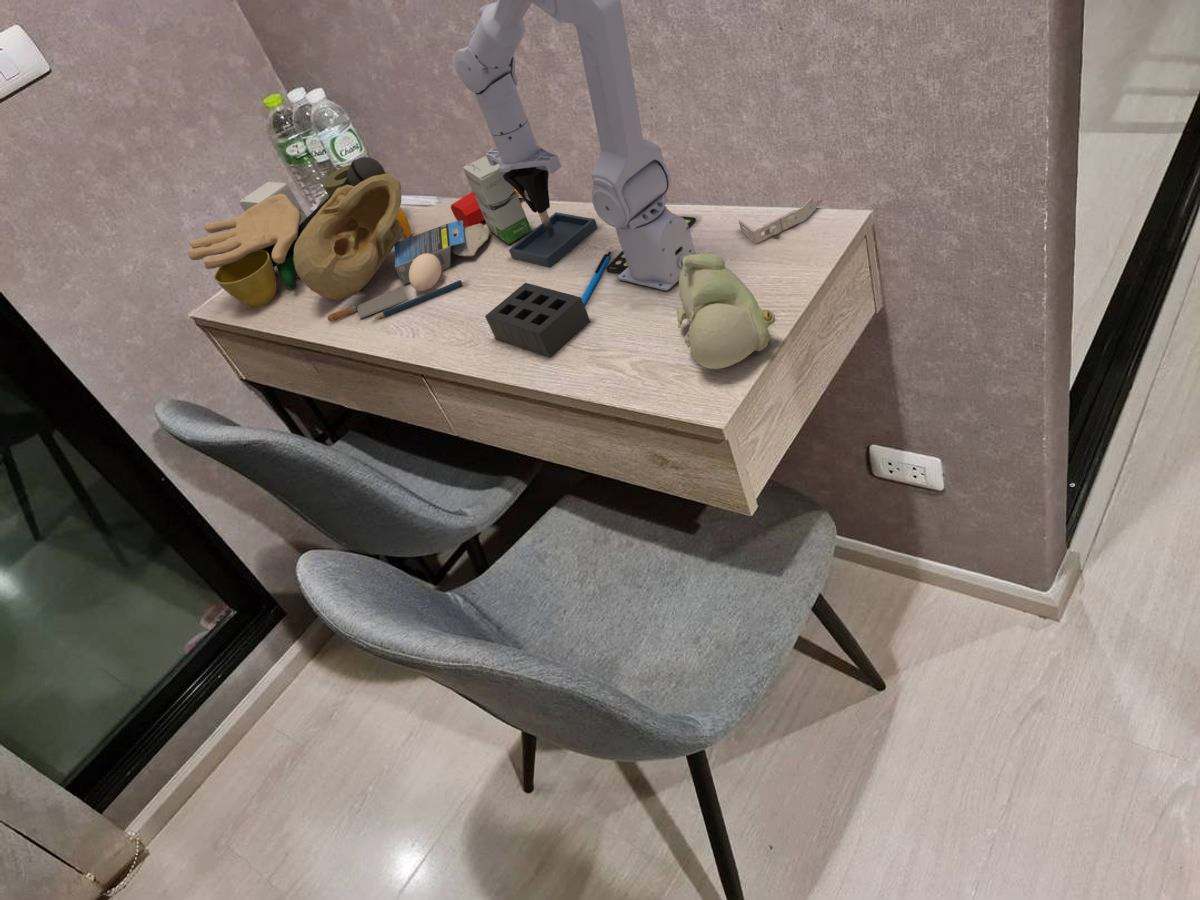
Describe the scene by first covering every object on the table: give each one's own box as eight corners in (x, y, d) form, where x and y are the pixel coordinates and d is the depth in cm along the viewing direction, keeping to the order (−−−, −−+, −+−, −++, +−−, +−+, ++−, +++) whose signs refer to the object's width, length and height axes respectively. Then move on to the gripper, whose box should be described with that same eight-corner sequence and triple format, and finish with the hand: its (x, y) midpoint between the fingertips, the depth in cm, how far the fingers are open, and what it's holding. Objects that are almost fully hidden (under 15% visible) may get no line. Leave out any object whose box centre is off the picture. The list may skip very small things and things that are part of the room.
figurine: (698, 326, 91) (790, 322, 92) (678, 236, 102) (760, 233, 103) (690, 393, 99) (775, 389, 100) (672, 303, 110) (748, 300, 110)
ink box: (533, 231, 140) (506, 164, 132) (507, 245, 139) (479, 179, 131) (513, 216, 146) (486, 152, 139) (488, 230, 145) (460, 166, 138)
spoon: (560, 230, 135) (539, 174, 128) (545, 242, 133) (523, 186, 127) (557, 229, 135) (536, 174, 129) (542, 241, 134) (520, 185, 127)
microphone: (307, 254, 151) (386, 181, 145) (281, 224, 149) (359, 149, 143) (322, 248, 157) (398, 178, 151) (296, 219, 156) (372, 147, 149)
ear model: (368, 143, 136) (326, 213, 151) (304, 213, 125) (266, 282, 140) (433, 195, 140) (386, 258, 155) (377, 269, 129) (332, 329, 144)
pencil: (462, 284, 134) (374, 320, 134) (463, 286, 135) (376, 321, 135) (460, 279, 134) (372, 315, 134) (461, 281, 135) (374, 316, 135)
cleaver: (409, 303, 137) (404, 289, 141) (406, 296, 136) (401, 282, 140) (332, 335, 136) (329, 320, 140) (328, 329, 135) (325, 314, 139)
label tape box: (403, 285, 140) (473, 262, 140) (393, 264, 138) (464, 241, 137) (403, 260, 147) (470, 238, 147) (393, 240, 144) (461, 217, 144)
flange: (396, 158, 151) (358, 150, 161) (328, 201, 146) (292, 190, 156) (408, 182, 154) (370, 172, 164) (341, 225, 149) (306, 213, 159)
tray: (597, 227, 134) (594, 218, 133) (550, 267, 130) (546, 258, 129) (559, 220, 140) (555, 212, 139) (512, 258, 136) (508, 249, 135)
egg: (427, 242, 135) (410, 274, 132) (452, 260, 137) (436, 292, 134) (413, 252, 138) (397, 284, 136) (437, 270, 141) (422, 301, 138)
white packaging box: (294, 262, 162) (257, 203, 154) (274, 258, 166) (236, 201, 158) (322, 241, 165) (287, 182, 157) (302, 237, 170) (267, 180, 162)
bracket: (833, 173, 120) (738, 220, 119) (855, 187, 115) (756, 235, 115) (835, 185, 121) (741, 231, 120) (857, 199, 116) (759, 247, 116)
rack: (590, 321, 116) (581, 297, 113) (550, 357, 112) (539, 333, 110) (535, 305, 123) (525, 282, 121) (495, 338, 120) (484, 316, 117)
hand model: (278, 187, 157) (187, 250, 154) (265, 169, 153) (171, 233, 150) (325, 241, 149) (229, 309, 146) (312, 223, 145) (213, 292, 142)
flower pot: (258, 320, 149) (237, 286, 144) (225, 311, 154) (203, 278, 149) (299, 286, 154) (280, 253, 149) (265, 279, 159) (245, 246, 154)
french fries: (474, 231, 147) (530, 198, 150) (465, 211, 144) (522, 177, 147) (453, 220, 153) (508, 188, 156) (444, 200, 150) (500, 168, 154)
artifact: (453, 242, 147) (455, 269, 139) (446, 228, 145) (448, 255, 138) (490, 227, 146) (494, 253, 139) (483, 213, 145) (487, 239, 137)
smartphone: (698, 217, 127) (644, 275, 119) (699, 221, 127) (645, 279, 120) (658, 214, 131) (603, 269, 124) (659, 218, 131) (604, 273, 124)
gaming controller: (334, 269, 158) (315, 245, 159) (332, 260, 155) (312, 235, 155) (292, 296, 156) (272, 271, 156) (288, 287, 152) (268, 261, 152)
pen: (613, 254, 127) (611, 248, 126) (570, 334, 115) (567, 328, 114) (608, 255, 127) (605, 248, 127) (564, 335, 115) (562, 328, 115)
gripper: (459, 136, 126) (494, 217, 134) (522, 143, 116) (555, 229, 125) (492, 113, 128) (524, 194, 137) (556, 117, 119) (587, 204, 128)
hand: (541, 209), depth 131 cm, fingers closed on spoon, 1 cm apart
